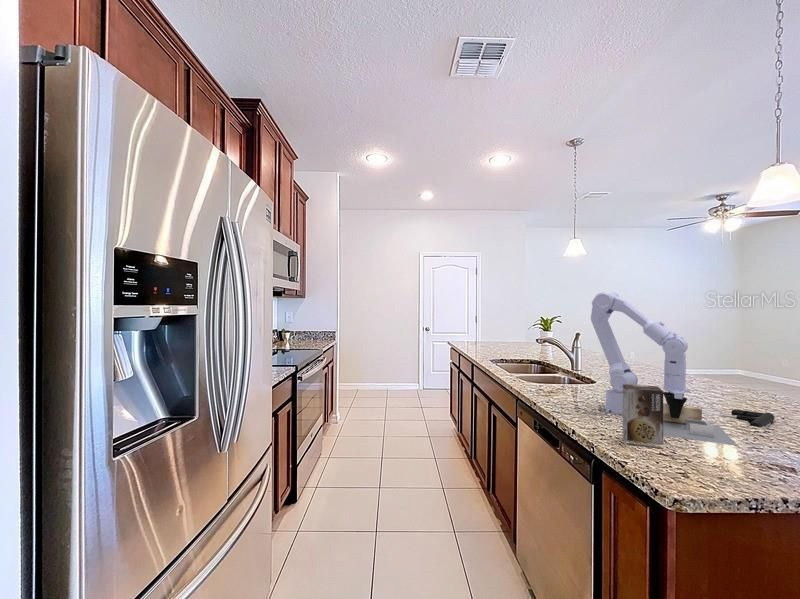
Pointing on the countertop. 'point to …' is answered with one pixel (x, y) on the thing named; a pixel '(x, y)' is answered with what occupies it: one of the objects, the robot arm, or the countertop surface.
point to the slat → (682, 413)
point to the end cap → (699, 427)
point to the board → (679, 431)
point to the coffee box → (643, 414)
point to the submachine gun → (753, 417)
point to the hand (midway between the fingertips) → (674, 416)
